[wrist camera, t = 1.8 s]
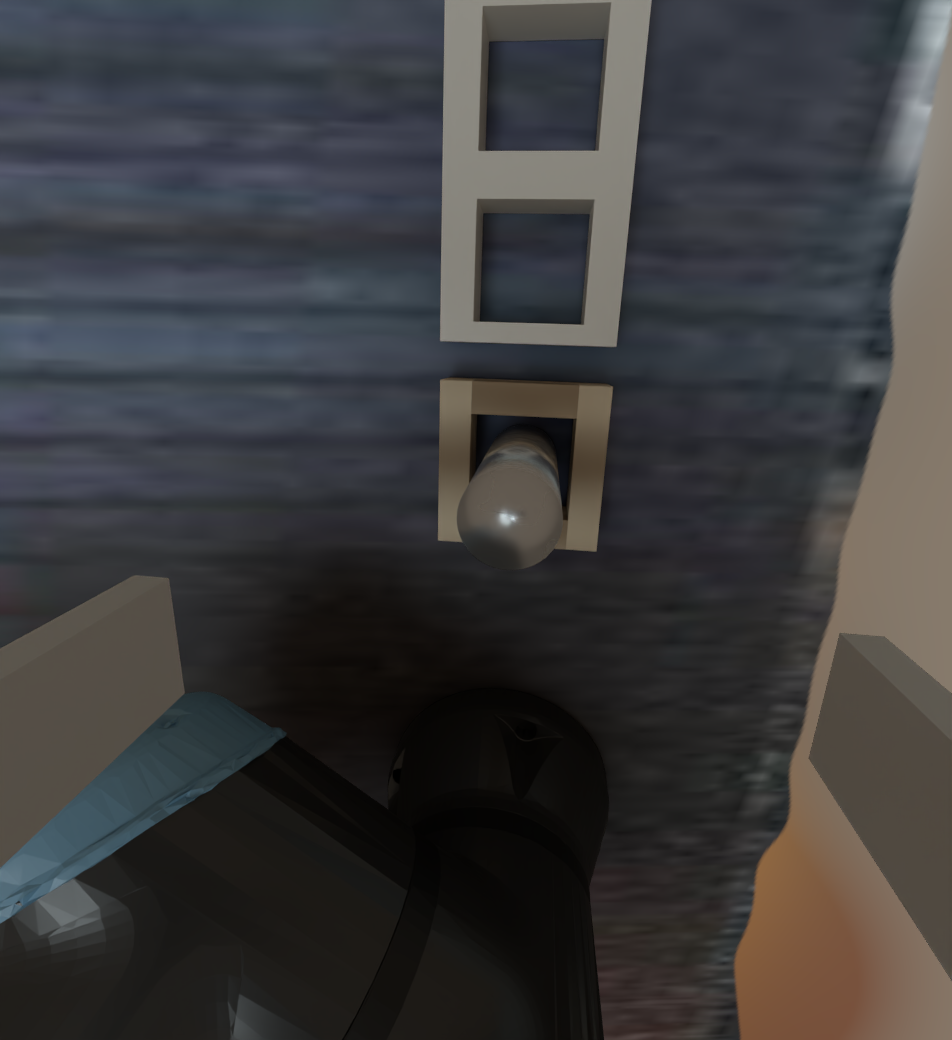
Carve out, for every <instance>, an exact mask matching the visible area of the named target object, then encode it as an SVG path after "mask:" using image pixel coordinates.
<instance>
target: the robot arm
mask: <svg viewBox="0 0 952 1040" xmlns="http://www.w3.org/2000/svg"><path fill="white" fill-rule="evenodd" d="M184 693H185V692H184V685H183V677H182V670H181V663H180V656H179V649H178V641H177V634H176V627H175V620H174V612H173V605H172V598H171V591H170V584H169V578H161V577H149V576H137V575H134V576H132V577H130V578H129V579H127V580H125V581H123V582H121V583H119V584H118V585H116V586H114V587H112V588H110V589H109V590H107V591H105V592H103V593H101V594H99V595H98V596H96V597H94V598H92V599H90V600H88V601H87V602H85V603H83V604H81V605H79V606H77V607H76V608H74V609H72V610H70V611H68V612H66V613H65V614H63V615H61V616H59V617H57V618H55V619H54V620H52V621H50V622H48V623H46V624H44V625H43V626H41V627H39V628H37V629H35V630H33V631H32V632H30V633H28V634H26V635H24V636H22V637H21V638H19V639H17V640H15V641H13V642H11V643H10V644H8V645H6V646H4V647H2V648H1V649H0V1040H604V1035H603V1025H602V1015H601V1005H600V995H599V985H598V975H597V965H596V955H595V945H594V935H593V926H592V916H591V905H590V892H589V885H590V882H591V878H592V875H593V871H594V868H595V864H596V861H597V857H598V854H599V850H600V846H601V842H602V838H603V836H604V833H605V829H606V826H607V821H608V812H609V797H608V789H607V782H606V775H605V769H604V765H603V762H602V759H601V756H600V753H599V751H598V749H597V747H596V745H595V744H594V742H593V740H592V739H591V738H590V736H589V735H588V733H587V732H586V731H585V730H584V729H583V728H582V727H581V726H580V724H579V723H578V722H576V721H575V720H574V719H573V718H572V717H571V716H569V715H568V714H567V713H566V712H564V711H563V710H561V709H560V708H558V707H556V706H555V705H553V704H551V703H549V702H547V701H545V700H543V699H540V698H538V697H535V696H532V695H529V694H526V693H522V692H517V691H512V690H505V689H477V690H470V691H465V692H461V693H457V694H454V695H451V696H448V697H446V698H444V699H442V700H440V701H438V702H436V703H434V704H432V705H431V706H429V707H428V708H427V709H425V710H424V711H423V712H422V713H420V714H419V715H418V716H417V717H416V718H415V719H414V720H413V721H412V723H411V724H410V725H409V727H408V728H407V730H406V731H405V733H404V735H403V737H402V739H401V741H400V743H399V746H398V749H397V751H396V754H395V757H394V759H393V762H392V766H391V769H390V774H389V780H388V808H389V810H388V809H386V808H385V807H384V806H382V805H381V804H379V803H378V802H377V801H375V800H374V799H372V798H371V797H370V796H368V795H367V794H365V793H364V792H363V791H361V790H360V789H358V788H357V787H356V786H354V785H353V784H351V783H350V782H349V781H347V780H346V779H344V778H343V777H342V776H340V775H339V774H337V773H336V772H335V771H333V770H332V769H330V768H329V767H328V766H326V765H325V764H323V763H322V762H321V761H319V760H318V759H317V758H315V757H314V756H312V755H311V754H310V753H308V752H307V751H305V750H304V749H303V748H301V747H300V746H298V745H297V744H296V743H294V742H293V741H291V740H290V739H289V738H287V737H286V735H287V733H286V732H285V731H283V730H282V729H281V728H272V727H270V726H268V725H267V724H265V723H264V722H262V721H261V720H259V719H257V718H256V717H254V716H253V715H251V714H250V713H248V712H246V711H245V710H243V709H242V708H240V707H239V706H237V705H235V704H234V703H232V702H231V701H229V700H228V699H226V698H224V697H222V696H220V695H218V694H214V693H210V692H193V693H188V694H184ZM183 694H184V695H183ZM809 759H810V761H811V763H812V764H813V766H814V767H815V769H816V770H817V772H818V773H819V775H820V777H821V778H822V780H823V781H824V783H825V784H826V786H827V787H828V789H829V791H830V792H831V794H832V795H833V797H834V798H835V800H836V801H837V803H838V805H839V806H840V808H841V809H842V811H843V812H844V814H845V815H846V817H847V819H848V820H849V822H850V823H851V825H852V826H853V828H854V830H855V831H856V833H857V834H858V836H859V837H860V839H861V840H862V842H863V844H864V845H865V847H866V848H867V850H868V851H869V853H870V854H871V856H872V858H873V859H874V861H875V862H876V864H877V865H878V867H879V868H880V870H881V872H882V873H883V875H884V876H885V878H886V879H887V881H888V882H889V884H890V886H891V887H892V889H893V890H894V892H895V893H896V895H897V896H898V898H899V900H900V901H901V902H902V904H903V906H904V907H905V909H906V910H907V912H908V914H909V915H910V917H911V918H912V920H913V921H914V923H915V924H916V926H917V928H918V929H919V930H920V932H921V934H922V935H923V937H924V938H925V940H926V942H927V943H928V945H929V946H930V948H931V949H932V951H933V952H934V954H935V956H936V957H937V959H938V960H939V962H940V963H941V965H942V966H943V968H944V970H945V971H946V973H947V974H948V976H949V977H950V979H951V980H952V693H950V692H949V691H948V690H947V689H946V688H944V687H943V686H942V685H941V684H940V683H939V682H937V681H936V680H935V679H934V678H933V677H931V676H930V675H929V674H928V673H927V672H925V671H924V670H923V669H922V668H921V667H920V666H918V665H917V664H916V663H915V662H914V661H913V660H911V659H910V658H909V657H908V656H906V654H904V653H903V652H902V651H901V650H899V649H898V648H897V647H896V646H895V645H894V644H892V643H891V642H890V641H889V640H888V639H887V638H885V637H881V636H869V635H856V634H844V633H840V634H839V638H838V643H837V647H836V651H835V655H834V659H833V663H832V667H831V671H830V675H829V679H828V683H827V687H826V691H825V695H824V699H823V703H822V707H821V711H820V715H819V719H818V723H817V727H816V731H815V735H814V739H813V743H812V747H811V751H810V756H809Z"/></svg>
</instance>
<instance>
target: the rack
mask: <svg viewBox="0 0 952 1040" xmlns="http://www.w3.org/2000/svg"><path fill="white" fill-rule="evenodd" d="M651 1H652V0H445V27H444V98H443V170H442V241H441V313H440V341H446V342H468V343H498V344H528V345H557V346H587V347H616V346H617V336H618V326H619V316H620V306H621V296H622V287H623V277H624V267H625V257H626V247H627V237H628V227H629V218H630V208H631V198H632V188H633V178H634V168H635V158H636V149H637V139H638V129H639V119H640V109H641V99H642V89H643V79H644V70H645V60H646V50H647V40H648V30H649V20H650V10H651ZM585 39H604V48H603V60H602V73H601V85H600V97H599V109H598V121H597V133H596V145H595V151H485V149H486V119H487V89H488V59H489V42H494V41H540V40H585ZM483 213H515V214H590V218H589V230H588V242H587V254H586V266H585V278H584V290H583V302H582V314H581V325H574V324H540V323H507V322H480V300H481V270H482V240H483Z"/></svg>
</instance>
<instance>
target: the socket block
mask: <svg viewBox="0 0 952 1040" xmlns="http://www.w3.org/2000/svg"><path fill="white" fill-rule="evenodd" d="M612 393H613V387H612V386H610V385H608V384H602V383H577V382H552V381H527V380H502V379H477V378H452V377H449V378H445V379H442V380H440V433H439V503H438V540H439V541H453V542H462V540H461V537H460V535H459V532H458V527H457V509H458V505H459V502H460V499H461V497H462V495H463V493H464V492H465V490H466V488H467V486H468V485H469V483H470V481H471V480H472V478H473V476H474V474H475V469H476V439H477V414H487V415H508V416H529V417H551V418H572V419H573V431H572V443H571V455H570V467H569V479H568V491H567V503H566V506H562V513H563V527H562V532H561V535H560V538H559V540H558V543H557V544H556V546H555V548H554V549H567V550H581V551H595V552H596V550H597V540H598V530H599V520H600V511H601V501H602V491H603V481H604V471H605V461H606V452H607V442H608V432H609V422H610V412H611V402H612Z"/></svg>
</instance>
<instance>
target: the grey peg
mask: <svg viewBox="0 0 952 1040" xmlns="http://www.w3.org/2000/svg"><path fill="white" fill-rule="evenodd" d="M457 527H458V532H459V535H460V537H461V540H462V542H463V543H464V545H465V547H466V548H467V549H468V550H469V552H470V553H471V554H472V555H473V556H474V557H475V558H477V559H478V560H479V561H481V562H483V563H484V564H486V565H488V566H491V567H494V568H497V569H502V570H520V569H524V568H528V567H530V566H533V565H535V564H537V563H539V562H540V561H542V560H543V559H545V558H546V557H547V556H548V555H549V554H550V553H551V552H552V550H553V549H554V548H555V546H556V544H557V543H558V540H559V538H560V535H561V532H562V527H563V513H562V504H561V494H560V485H559V475H558V466H557V456H556V450H555V446H554V444H553V442H552V440H551V439H550V437H549V436H548V435H547V434H546V433H545V432H544V431H542V430H541V429H539V428H537V427H535V426H531V425H526V424H520V425H514V426H511V427H509V428H507V429H505V430H503V431H502V432H501V433H500V434H499V435H498V436H497V437H496V438H495V440H494V441H493V443H492V445H491V447H490V448H489V450H488V452H487V454H486V455H485V457H484V459H483V460H482V462H481V464H480V466H479V467H478V469H477V471H476V473H475V474H474V476H473V478H472V480H471V481H470V483H469V485H468V486H467V488H466V490H465V492H464V493H463V495H462V497H461V499H460V502H459V505H458V509H457Z"/></svg>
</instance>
